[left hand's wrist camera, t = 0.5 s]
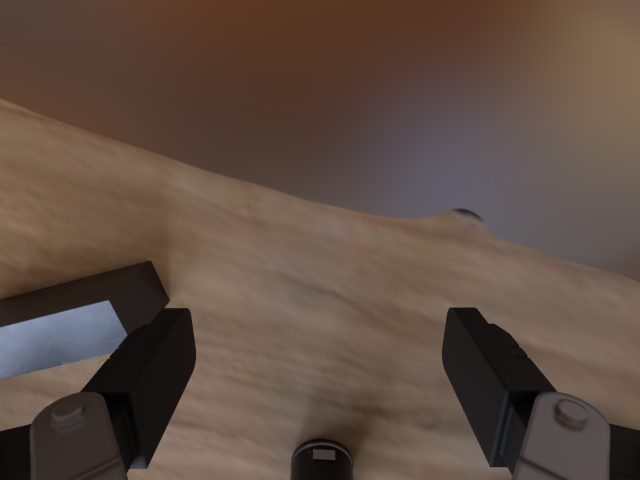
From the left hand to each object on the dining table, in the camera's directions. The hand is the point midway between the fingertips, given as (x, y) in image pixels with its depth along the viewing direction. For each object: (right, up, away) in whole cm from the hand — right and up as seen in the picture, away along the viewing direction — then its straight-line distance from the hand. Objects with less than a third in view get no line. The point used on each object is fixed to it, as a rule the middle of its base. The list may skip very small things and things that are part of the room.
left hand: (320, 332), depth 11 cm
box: (-30, -5, +35) cm, 47 cm away
